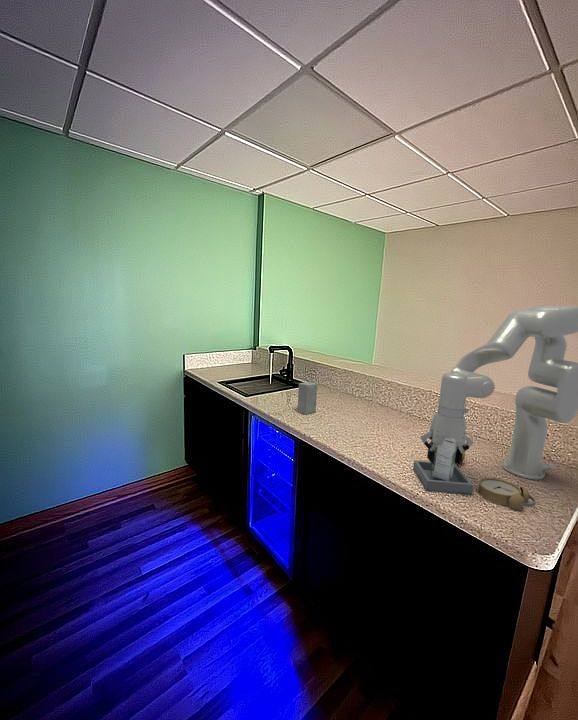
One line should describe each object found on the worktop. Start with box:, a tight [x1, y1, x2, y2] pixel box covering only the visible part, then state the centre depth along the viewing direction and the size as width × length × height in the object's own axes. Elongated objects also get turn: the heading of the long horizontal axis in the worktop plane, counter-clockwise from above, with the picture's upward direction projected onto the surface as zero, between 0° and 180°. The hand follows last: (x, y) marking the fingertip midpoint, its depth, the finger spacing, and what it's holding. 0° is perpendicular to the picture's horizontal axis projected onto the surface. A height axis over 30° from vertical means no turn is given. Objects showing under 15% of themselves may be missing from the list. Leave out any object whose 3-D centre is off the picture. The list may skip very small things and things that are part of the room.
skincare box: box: [297, 381, 318, 416], centre depth 171 cm, size 8×7×16 cm
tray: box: [412, 459, 475, 496], centre depth 107 cm, size 14×14×4 cm
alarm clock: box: [474, 477, 537, 511], centre depth 99 cm, size 11×5×15 cm
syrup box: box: [431, 438, 457, 481], centre depth 106 cm, size 6×6×14 cm
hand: (443, 461), depth 107 cm, fingers closed on syrup box, 7 cm apart
